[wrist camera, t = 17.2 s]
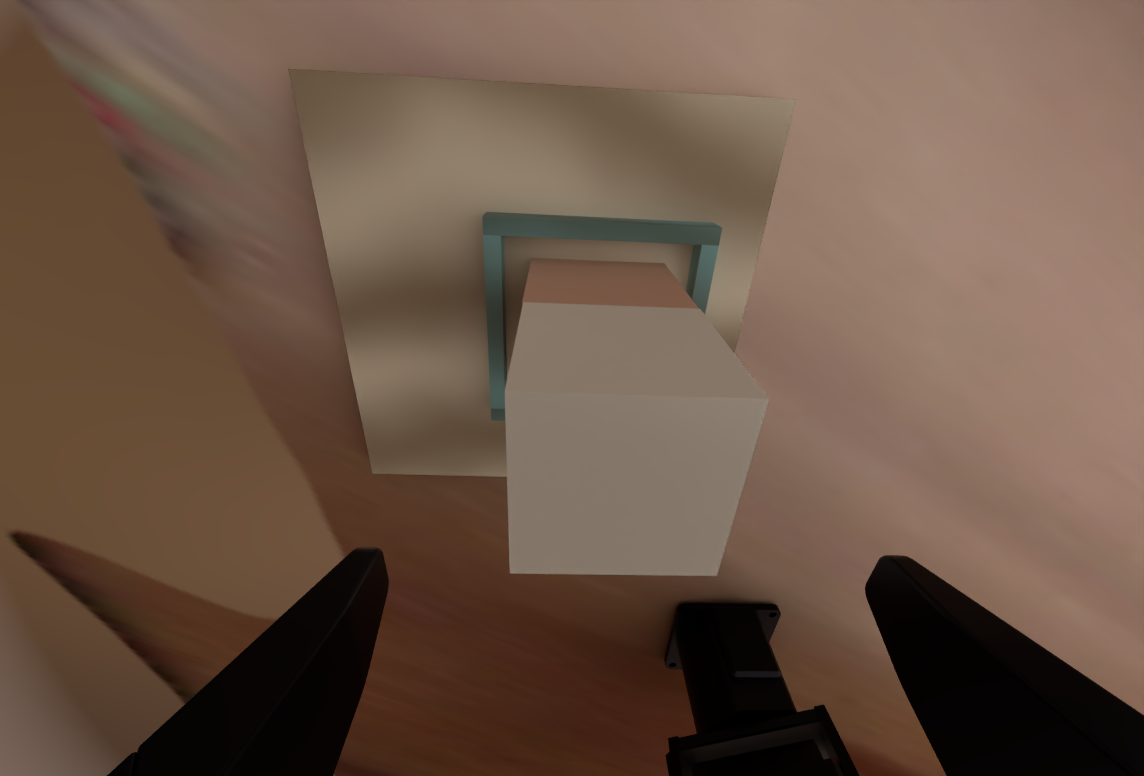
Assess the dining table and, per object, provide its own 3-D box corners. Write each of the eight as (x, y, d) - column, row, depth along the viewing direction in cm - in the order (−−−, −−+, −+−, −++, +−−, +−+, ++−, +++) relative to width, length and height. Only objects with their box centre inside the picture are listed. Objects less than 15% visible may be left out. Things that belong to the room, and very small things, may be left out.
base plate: (696, 465, 24) (708, 495, 22) (380, 457, 23) (364, 487, 21) (780, 101, 16) (810, 97, 14) (306, 72, 15) (270, 65, 13)
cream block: (673, 450, 16) (716, 576, 11) (523, 447, 15) (509, 573, 11) (699, 308, 13) (769, 399, 9) (523, 301, 13) (504, 391, 9)
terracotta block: (647, 379, 20) (672, 450, 16) (531, 376, 20) (523, 447, 15) (664, 263, 18) (699, 308, 13) (531, 257, 17) (522, 302, 13)
